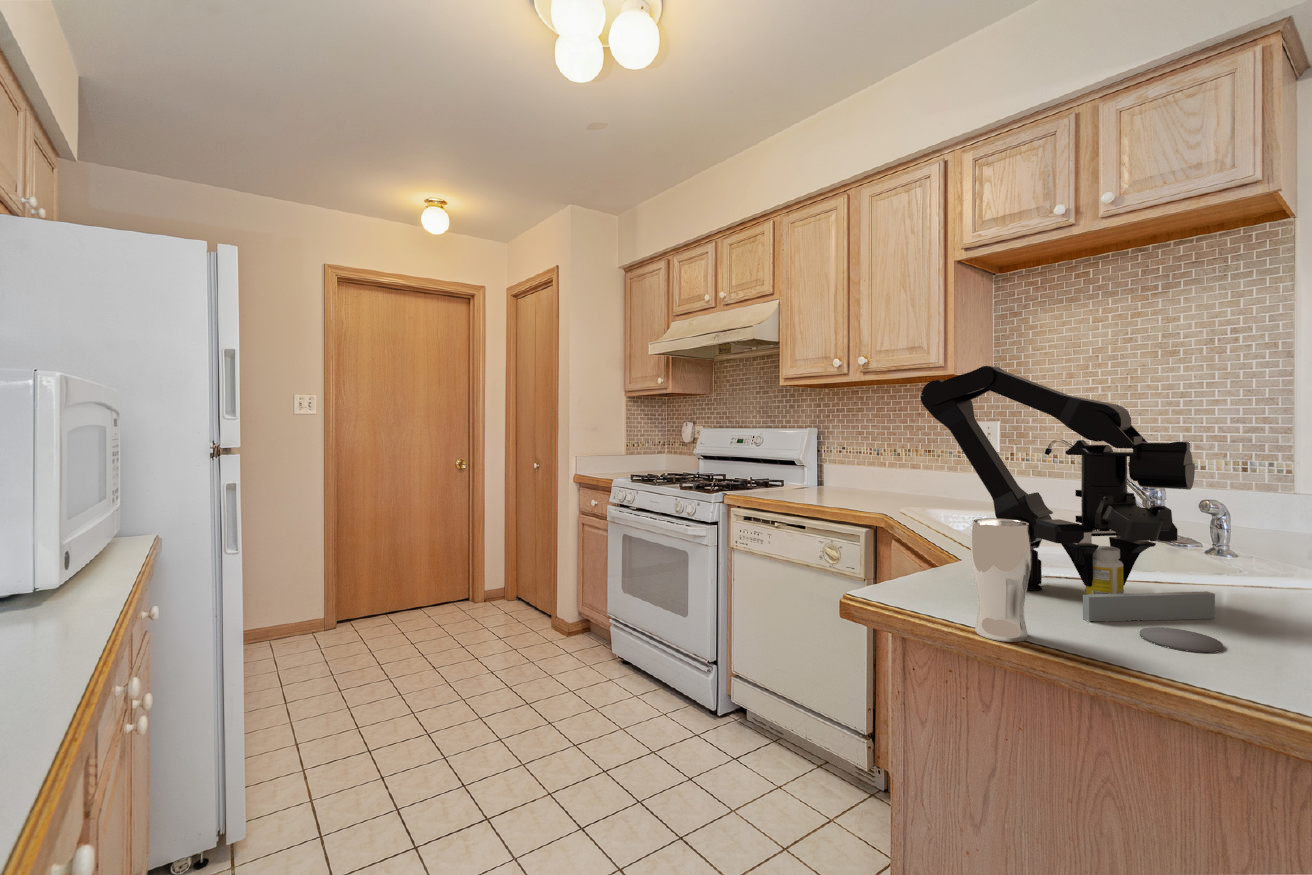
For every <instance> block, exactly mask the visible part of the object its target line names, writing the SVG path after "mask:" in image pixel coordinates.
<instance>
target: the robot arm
mask: <svg viewBox="0 0 1312 875" xmlns="http://www.w3.org/2000/svg"><path fill="white" fill-rule="evenodd" d="M988 392H992V393H995V394H997V395H1000V396H1002V397H1005V398H1007V399H1009V400H1013V401H1014V402H1017V403H1019V404H1022V405H1023V406H1027V407H1029V408H1032V409H1034V410H1037V411H1039V412H1042V413H1045V414H1047V415H1049V416H1050V417H1053V418H1055V419H1057V420H1058V421H1059V422H1060V423H1062V424H1063V425H1064V426H1065V427H1066V428H1068V429H1070V430H1071V431H1073V432H1075V433H1076V434H1077V435H1080V437H1082V438H1085V439H1086V440H1088V441H1092V442H1105V443H1106V444H1089V443H1087V442H1086V440H1084V439H1078V440H1076V441H1075V443H1074V444H1073V445H1072V446H1071V447H1069V448H1068V449H1067V450H1065V454H1066V455H1067V456H1081V458H1080V459H1081V463H1080V464H1081V469H1080V470H1081V474H1080V475H1081V477H1080V478H1081V483H1080V484H1081V489H1075V497H1078V498H1081V502H1080V503H1081V509H1080V510H1081V515H1075V522H1073V521H1068V520H1065V519H1055V518H1054V519H1053V518H1052V516H1051V515H1052V514H1054V512H1053V510H1050V509H1049V507H1048V506H1047V505H1046V504H1045V501H1044V500H1043V498H1042V496H1041V494H1040V492H1032V493H1027V492H1026V491H1025V490H1024V489H1023V488H1021V486H1019V484H1018V483H1017V481H1016V480H1015V478H1014V476H1013V475H1012V473H1011V472H1010V471H1009V469H1008V467H1007V466H1006V464H1005V463H1004V461H1003V460H1002V458H1001V457H1000V455H999V453H998V452H997V450H996V449H995V447H994V445H993V444H992V443H991V441H990V440H989V438H988V436H987V435H986V434H985V432H984V431H983V429H982V428H981V426H980V425H979V423H978V421H977V420H976V417H975V413H974V404H973V401H972V400H973V399H977V398H979V397H980V396H983V395H984V394H986V393H988ZM919 399H920V401H921V404H922V406H923V407H924V408H925V409H926V410H927V412H928V413H929V414H930V415H931V416H932V417H933V418H934V419H935V420H936V421H938V422H939V423H940V424H941V425H943V426H944V427H946V428H947V429H948V430H949V431H950V433H951V434H952V436H953V438H954V439H955V441H956V442H957V444H958V446H959V448H960V449H961V450H962V452H963V454H964V455H965V457H966V458H967V460H968V461H969V463H970V464H971V466H972V468H973V469H974V471H975V473H976V474H977V475H978V477H979V479H980V481H981V482H982V484H983V486H984V488H985V489H986V490H987V492H988V493H989V495H990V496H991V498H992V503H993V508H994V515H995V518H996V519H1011V520H1018V521H1024V522H1027V523H1029V532H1030V542H1031V569H1030V577H1029V582H1028V587H1027V591H1043V586H1042V583H1043V582H1042V578H1043V577H1042V560H1041V559H1039V551H1037V550H1036V549H1038V548H1040V545H1041V543H1042V542H1043V540H1044V541H1046V542H1047V541H1048V542H1052V543H1055V544H1060V545H1061V546H1062V547H1063V549H1064V550H1065V552H1066V554H1067V555H1068V557H1069V558H1070V560H1071V562H1072V564H1073V565H1074V567H1075V569H1076V571H1077V573H1078V576H1079V577H1080V579H1081V581H1082V583H1083V585H1084V586H1085V587H1086V586H1088V587H1091V586H1092V580H1093V553H1094V552H1095V550H1096V549H1097V548H1098V547H1099V544H1095V543H1092V540H1093V539H1092V537H1108V540H1109V546H1111V547H1116V548H1118V549H1120V559H1118V560H1119V561H1121V562H1122V563H1123V579H1124V586H1125V585H1126V582H1127V581H1128V579H1129V576H1130V574H1131V572H1132V570H1133V568H1134V566H1135V563H1136V561H1137V559H1138V558H1139V556H1140V555H1141V554H1142V553H1143V552H1144V551H1146V550H1148V549H1149V548H1153V547H1155V546H1157V543H1156V542H1157V541H1158V542H1177V541H1178V536H1179V535H1178V534H1179V533H1178V532H1179V531H1178V528H1177V526H1176V525H1175V524H1174V522H1173V515H1172V514H1173V513H1172V509H1171V508H1169V507H1167V506H1165V505H1151V506H1150V507H1141V506H1139V505H1137V501H1136V500H1137V498H1136V496H1135V493H1134V492H1128V475H1129V478H1130V480H1132V481H1133V482H1137V484H1138V486H1139V487H1140V488H1150V489H1151V488H1153V489H1170V490H1171V489H1172V490H1191V489H1192V488H1193V485H1194V483H1195V482H1194V481H1195V474H1196V473H1195V471H1196V470H1195V469H1196V468H1195V467H1196V464H1195V463H1194V461H1193V455H1192V451H1191V444H1190V442H1189V441H1174V442H1148V441H1147V440H1146V438H1145V437H1144V436H1142V434H1141V433H1140V432H1139V431H1138V430H1137V429H1136V428H1135V427H1134V426H1133V425H1132V417H1131V415H1130V413H1129V411H1128V410H1127V408H1125V407H1123V406H1121V405H1119V404H1116V403H1111V402H1105V401H1101V400H1096V399H1092V398H1091V399H1090V398H1085V397H1078V396H1074V395H1069V394H1067V393H1065V392H1061V391H1059V390H1056V389H1053V388H1050V387H1047V386H1045V385H1043V384H1039V383H1037V382H1034V381H1032V380H1029V379H1027V378H1024V377H1021V376H1019V375H1016V374H1014V373H1011V372H1008V371H1005V370H1003V369H1002V368H1001V367H999V366H993V365H983V366H980V367H978V368H976V369H974V370H971V371H969V372H966V373H963V374H960V375H956V376H953V377H950V378H947V379H945V380H943V379H936V380H934V379H933V380H932V381H929V382H927V383H926V385H924V386H923V388H922V389H921V394H920V397H919ZM1112 447H1113V448H1115V449H1126V450H1127V449H1130V450H1131V449H1132V451H1114V450H1113V448H1112Z"/></svg>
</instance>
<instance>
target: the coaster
mask: <svg viewBox="0 0 1312 875" xmlns="http://www.w3.org/2000/svg"><path fill="white" fill-rule="evenodd" d="M1139 636H1140V637H1141V638H1142V637H1143V638H1144V639H1143V638H1142V639H1143V640H1144V641H1146V640H1147V642H1148V643H1151V642H1152V643H1151V644H1154V643H1155V644H1154V645H1157V644H1158V645H1157V646H1160V647H1163V646H1166V647H1165V648H1167V647H1169V649H1172V648H1174V649H1173V650H1177V649H1179V650H1178V651H1182V650H1188V651H1187V652H1189V651H1194V652H1193V653H1200V652H1212V653H1216V652H1215V651H1219V652H1220V650H1221V651H1222V650H1223V648H1224V646H1223V643H1222V642H1221V641H1220V640H1219V639H1217V638H1214V637H1212V636H1210V635H1206V634H1203V633H1199V632H1195V631H1191V630H1186V629H1180V628H1173V627H1161V626H1156V627H1155V626H1152V627H1150V626H1149V627H1144V628H1142V629H1140V630H1139Z"/></svg>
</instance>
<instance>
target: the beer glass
mask: <svg viewBox="0 0 1312 875" xmlns="http://www.w3.org/2000/svg"><path fill="white" fill-rule="evenodd" d="M970 542H971V543H970V557H971V559H970V560H971V568H972V573H973V580H974V584H975V590H976V594H977V603H978V605H977V606H978V612H977V617H976V623H975V628H974V629H975V633H977V635H979V636H980V637H982V638H986V639H988V640H992V641H998V642H1004V643H1019V642H1024V641H1026V640H1027V639H1028V638H1029V636H1028V635H1029V634H1028V630H1027V625H1026V621H1025V620H1026V619H1025V602H1026V596H1027V592H1028V590H1027V587H1028V582H1029V577H1030V569H1031V542H1030V532H1029V523H1027V522H1024V521H1018V520H1011V519H996V517H995V518H976V519H973V520H972V529H971V540H970Z"/></svg>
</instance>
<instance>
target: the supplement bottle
mask: <svg viewBox="0 0 1312 875" xmlns="http://www.w3.org/2000/svg"><path fill="white" fill-rule="evenodd" d="M1098 545H1099V544H1098ZM1118 559H1120V549H1118V548H1116V547H1111V546H1110V545H1101V544H1100V545H1099V547H1098V548H1097V549H1096V550H1095V552H1094V553H1093V580H1092V586H1091V587H1088V586H1085V595H1090V594H1125V593H1124V591H1125V590H1124V589H1125V588H1124V586H1125V585H1124V579H1123V563H1122V562H1121V561H1119V560H1118Z"/></svg>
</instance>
